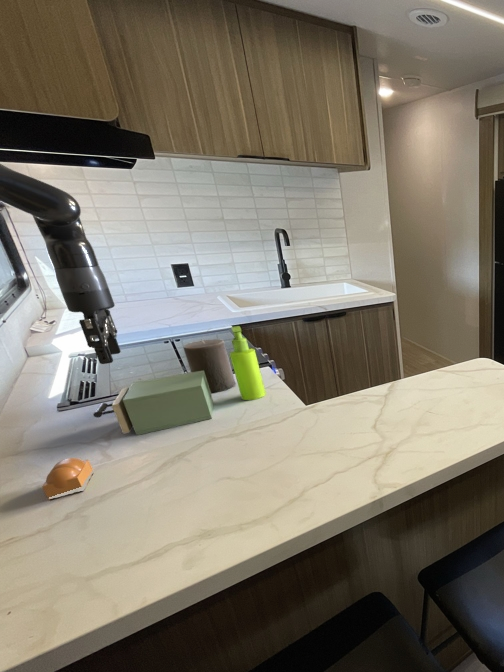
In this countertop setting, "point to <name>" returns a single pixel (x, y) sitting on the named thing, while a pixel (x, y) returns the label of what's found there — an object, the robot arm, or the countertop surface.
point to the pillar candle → (211, 363)
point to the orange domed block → (66, 476)
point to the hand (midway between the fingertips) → (111, 358)
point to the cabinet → (168, 402)
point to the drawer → (117, 411)
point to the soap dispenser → (246, 368)
